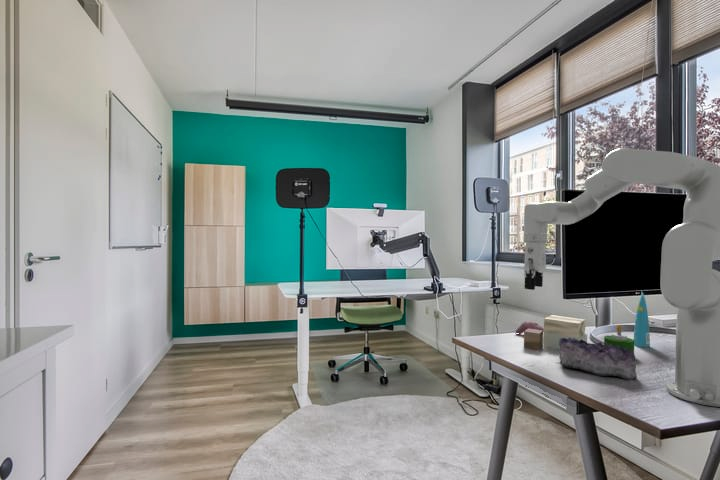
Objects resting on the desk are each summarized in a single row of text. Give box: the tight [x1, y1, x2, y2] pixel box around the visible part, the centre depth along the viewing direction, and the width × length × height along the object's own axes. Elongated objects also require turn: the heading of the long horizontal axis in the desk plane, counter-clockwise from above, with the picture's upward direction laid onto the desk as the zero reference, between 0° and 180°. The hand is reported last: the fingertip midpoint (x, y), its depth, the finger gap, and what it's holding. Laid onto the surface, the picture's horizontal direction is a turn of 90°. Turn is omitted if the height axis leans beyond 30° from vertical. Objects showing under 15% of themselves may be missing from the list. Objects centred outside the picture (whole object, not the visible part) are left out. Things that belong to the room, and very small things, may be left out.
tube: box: [633, 291, 651, 348], centre depth 139 cm, size 7×5×19 cm, turn 150°
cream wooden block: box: [543, 314, 586, 338], centre depth 138 cm, size 9×11×5 cm
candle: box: [603, 324, 635, 353], centre depth 128 cm, size 8×8×10 cm
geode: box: [558, 338, 638, 381], centre depth 113 cm, size 20×12×10 cm, turn 52°
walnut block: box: [523, 328, 544, 352], centre depth 135 cm, size 5×5×6 cm
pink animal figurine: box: [515, 321, 544, 336], centre depth 150 cm, size 10×5×7 cm, turn 22°
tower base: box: [543, 332, 588, 350], centre depth 138 cm, size 10×12×5 cm
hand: (533, 287), depth 135 cm, fingers open, 9 cm apart
